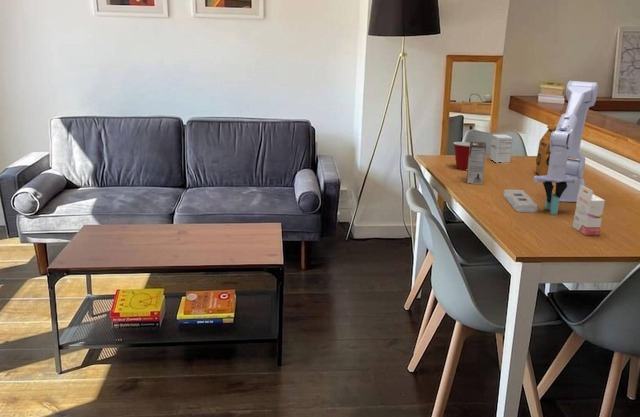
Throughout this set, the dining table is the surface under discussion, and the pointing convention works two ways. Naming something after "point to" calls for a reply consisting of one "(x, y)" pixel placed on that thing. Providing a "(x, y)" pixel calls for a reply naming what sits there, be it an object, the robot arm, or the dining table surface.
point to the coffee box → (476, 162)
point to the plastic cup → (462, 154)
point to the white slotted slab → (520, 201)
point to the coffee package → (544, 152)
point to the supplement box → (501, 148)
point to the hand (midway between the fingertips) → (552, 202)
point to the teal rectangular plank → (553, 204)
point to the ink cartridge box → (588, 212)
